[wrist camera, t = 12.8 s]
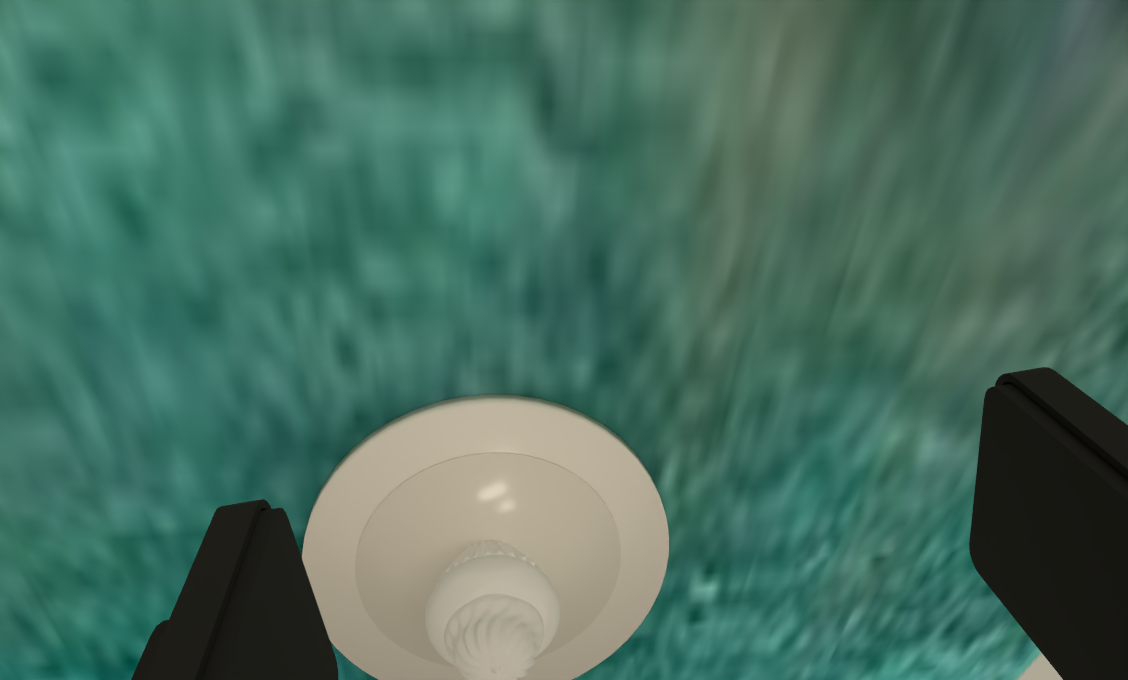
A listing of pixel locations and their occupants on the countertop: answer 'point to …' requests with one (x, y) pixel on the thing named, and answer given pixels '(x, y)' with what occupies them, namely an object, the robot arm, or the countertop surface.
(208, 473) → the countertop surface
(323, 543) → the plate
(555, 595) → the muffin
